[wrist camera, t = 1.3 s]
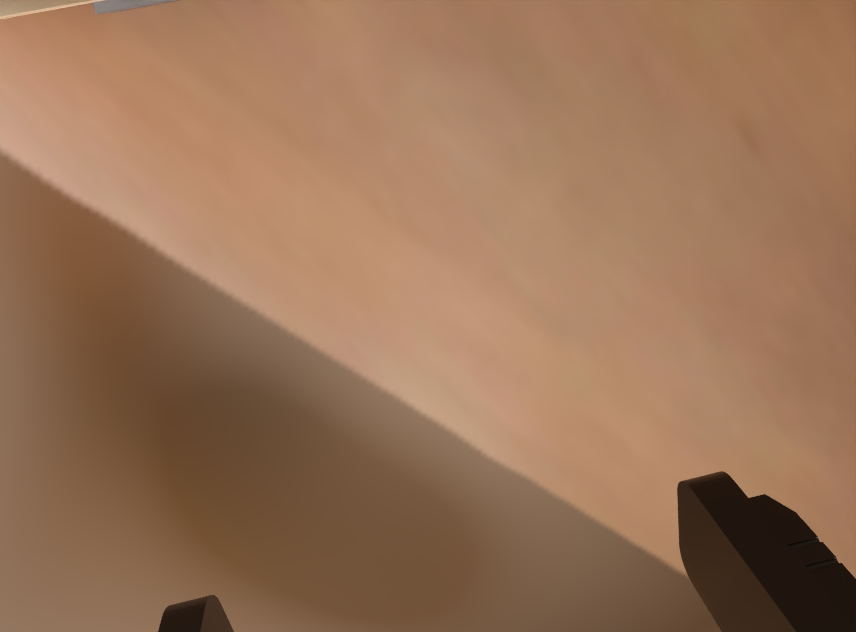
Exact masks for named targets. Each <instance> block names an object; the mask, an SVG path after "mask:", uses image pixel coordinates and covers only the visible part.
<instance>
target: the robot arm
mask: <svg viewBox="0 0 856 632" xmlns="http://www.w3.org/2000/svg"><path fill="white" fill-rule="evenodd" d="M677 494H678V523H679V547H680V553H681V557H682V561H683V564H684V567H685V569H686V572H687V574H688V576H689V578H690V580H691V582H692V584H693V586H694V587H695V589H696V591H697V592H698V594H699V595H700V597H701V599H702V600H703V602H704V604H705V605H706V607H707V608H708V610H709V612H710V613H711V615H712V616H713V618H714V620H715V621H716V623H717V625H718V626H719V628H720V630H721V631H722V632H856V579H855V578H854V576H853V575H852V574H851V573H850V572H849V571H848V570H847V569H846V568H845V566H844V565H843V564H842V563H838V561H837V558H836V556H835V555H834V554H833V553H832V552H831V551H830V550H829V549H828V548H827V546H826V545H825V544H824V543H823V542H820V541H819V539H818V536H817V535H816V534H815V533H814V532H813V531H812V530H811V529H810V528H809V526H808V525H807V524H806V523H805V522H804V521H803V520H802V519H801V518H800V517H799V515H798V514H797V513H796V512H794V511H793V510H791V509H789V508H787V507H786V506H784V505H782V504H781V503H779V502H777V501H776V500H774V499H772V498H770V497H769V496H767V495H765V494H764V495H760V496H756V497H751V498H748V497H747V496H746V495H745V493H744V492H743V491H742V490H741V489H740V487H739V486H738V485H737V484H736V483H735V481H734V480H733V479H732V478H731V477H730V476H729V475H728V474H727V473H725V472H722V471H721V472H717V473H713V474H709V475H705V476H701V477H697V478H693V479H689V480H685V481H681V482H679V484H678V488H677ZM158 632H234V631H233V629H232V627H231V625H230V622H229V620H228V618H227V616H226V614H225V612H224V610H223V607H222V605H221V603H220V601H219V600H218V598H217V597H216V596H215V595H210V596H206V597H202V598H198V599H194V600H190V601H186V602H181V603H177V604H174V605H170V606H168V607H167V608H166V609H165V611H164V613H163V616H162V620H161V623H160V627H159V631H158Z"/></svg>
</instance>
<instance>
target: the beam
mask: <svg viewBox="0 0 856 632" xmlns="http://www.w3.org/2000/svg"><path fill="white" fill-rule="evenodd" d="M173 1H178V0H0V19H5V18H10V17H16V16H21V15H27V14H32V13H38V12H43V11H49V10H54V9H60V8H65V7H71V6H76V5H82V4H87V3H92V4H93V6H94V9H95V12H96V14H101V13H111V12H118V11H123V10H129V9H134V8H140V7H145V6H151V5H156V4H162V3H167V2H173Z"/></svg>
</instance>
